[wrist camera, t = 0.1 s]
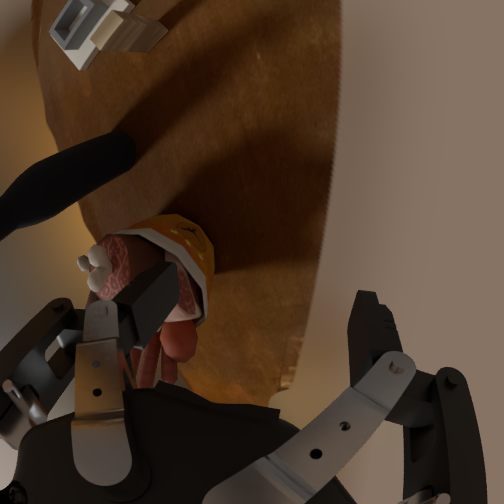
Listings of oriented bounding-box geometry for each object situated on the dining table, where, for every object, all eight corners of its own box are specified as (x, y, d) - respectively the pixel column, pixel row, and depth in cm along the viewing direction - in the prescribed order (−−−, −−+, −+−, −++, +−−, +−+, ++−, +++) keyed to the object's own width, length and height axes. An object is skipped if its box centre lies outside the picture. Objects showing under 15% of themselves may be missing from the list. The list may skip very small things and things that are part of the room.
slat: (168, 30, 24) (123, 20, 16) (147, 53, 26) (100, 50, 18) (157, 20, 23) (112, 9, 16) (137, 42, 25) (89, 39, 17)
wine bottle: (143, 159, 34) (-50, 300, 9) (116, 180, 37) (-47, 310, 12) (122, 122, 31) (-84, 229, 7) (96, 146, 34) (-77, 254, 10)
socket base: (135, 5, 22) (114, 0, 18) (86, 69, 27) (64, 72, 24) (98, -24, 18) (79, -28, 14) (57, 34, 24) (36, 35, 20)
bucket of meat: (119, 194, 38) (22, 269, 22) (218, 181, 34) (123, 278, 17) (157, 297, 48) (101, 382, 32) (244, 303, 44) (202, 414, 28)
